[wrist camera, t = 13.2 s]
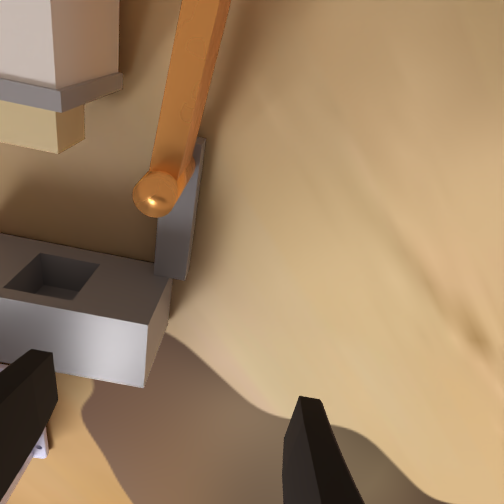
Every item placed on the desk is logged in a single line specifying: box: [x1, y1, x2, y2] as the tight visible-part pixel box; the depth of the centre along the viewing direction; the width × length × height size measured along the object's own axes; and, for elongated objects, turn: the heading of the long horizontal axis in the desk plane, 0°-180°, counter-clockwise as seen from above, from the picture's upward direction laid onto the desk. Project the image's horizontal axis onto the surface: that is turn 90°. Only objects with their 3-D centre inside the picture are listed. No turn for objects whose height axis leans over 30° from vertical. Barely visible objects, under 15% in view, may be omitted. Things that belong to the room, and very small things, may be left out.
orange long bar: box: [132, 0, 231, 218], centre depth 12 cm, size 12×1×4 cm, turn 162°
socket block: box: [0, 137, 206, 388], centre depth 17 cm, size 11×11×5 cm
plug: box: [0, 0, 123, 154], centre depth 13 cm, size 7×4×5 cm, turn 169°
